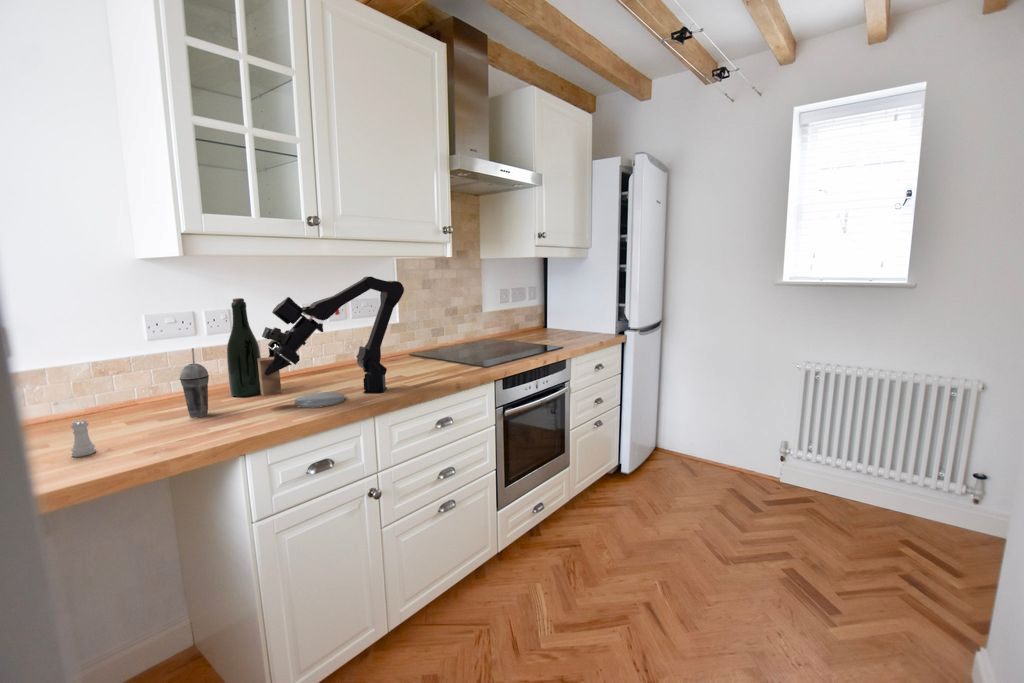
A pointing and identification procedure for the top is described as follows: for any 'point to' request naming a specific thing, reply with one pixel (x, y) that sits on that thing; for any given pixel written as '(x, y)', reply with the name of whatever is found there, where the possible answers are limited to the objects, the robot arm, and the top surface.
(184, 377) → the beverage cup
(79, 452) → the rook chess piece
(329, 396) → the slate dish
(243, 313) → the beer bottle
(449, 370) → the top surface
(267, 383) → the walnut block
